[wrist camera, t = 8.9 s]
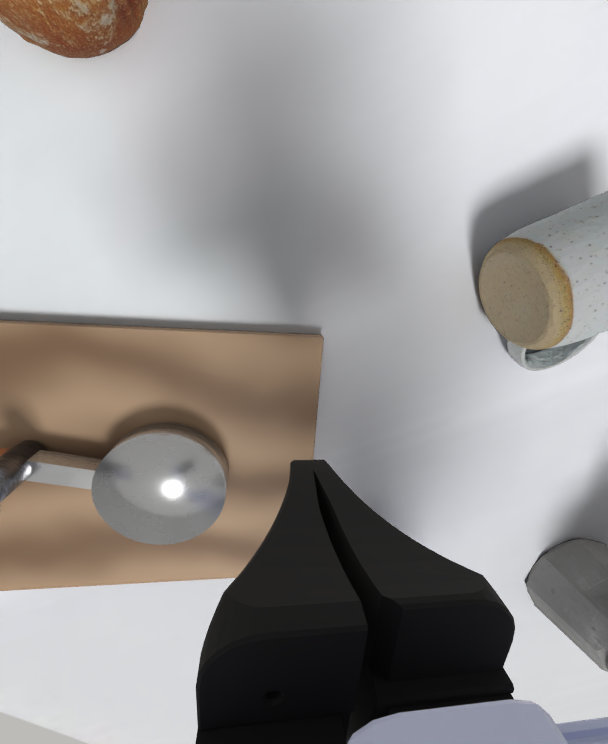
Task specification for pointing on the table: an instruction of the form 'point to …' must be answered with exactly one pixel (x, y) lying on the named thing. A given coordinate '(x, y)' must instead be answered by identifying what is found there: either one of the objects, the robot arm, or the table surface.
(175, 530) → the grey metal rounded piece
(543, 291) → the ceramic mug
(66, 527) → the stand board
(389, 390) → the table surface
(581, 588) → the coffeepot
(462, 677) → the robot arm
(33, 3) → the bread roll
